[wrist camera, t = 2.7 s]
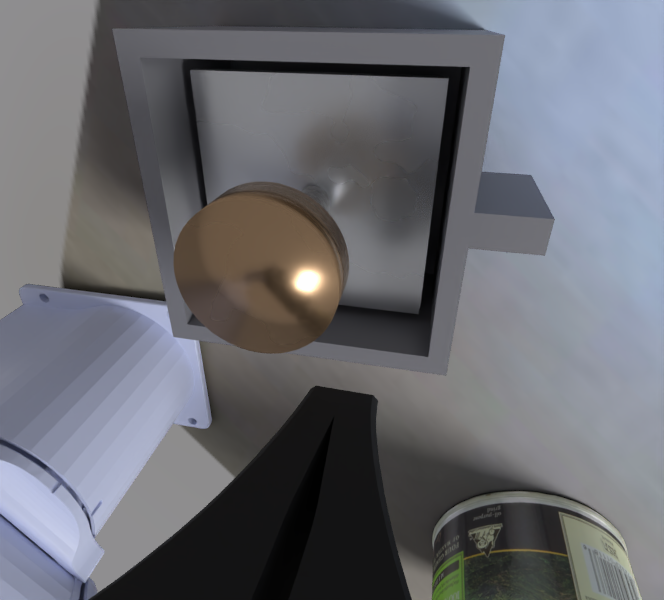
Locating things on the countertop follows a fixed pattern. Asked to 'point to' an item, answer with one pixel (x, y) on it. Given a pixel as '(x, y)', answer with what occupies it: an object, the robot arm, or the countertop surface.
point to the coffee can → (529, 551)
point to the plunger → (308, 200)
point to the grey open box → (343, 57)
